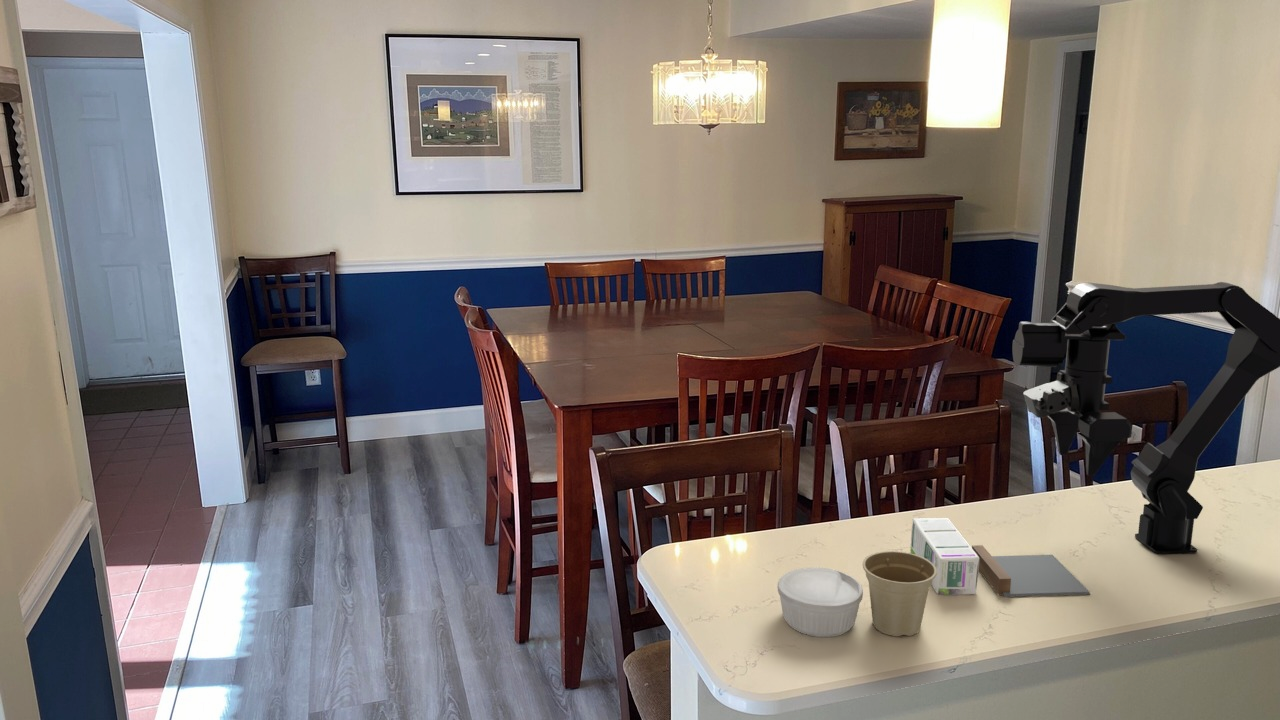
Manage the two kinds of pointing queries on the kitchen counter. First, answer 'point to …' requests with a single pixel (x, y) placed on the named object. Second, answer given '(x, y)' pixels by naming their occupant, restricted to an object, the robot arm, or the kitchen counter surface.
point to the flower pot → (898, 590)
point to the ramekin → (819, 601)
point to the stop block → (992, 570)
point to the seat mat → (1039, 576)
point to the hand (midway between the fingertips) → (1076, 464)
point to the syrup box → (946, 555)
